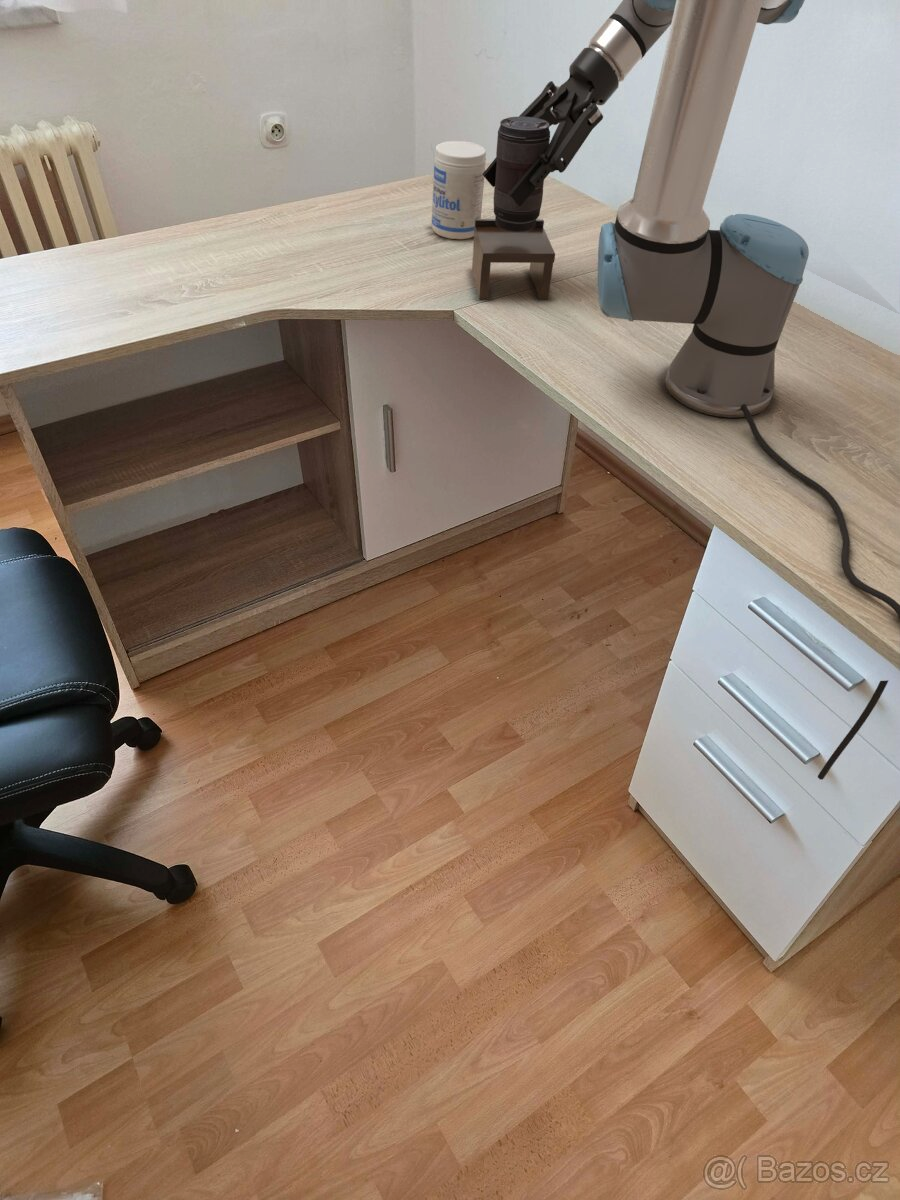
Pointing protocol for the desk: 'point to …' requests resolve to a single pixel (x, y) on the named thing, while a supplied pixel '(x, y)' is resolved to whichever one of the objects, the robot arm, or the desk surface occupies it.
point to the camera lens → (518, 170)
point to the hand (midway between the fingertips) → (500, 190)
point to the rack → (511, 254)
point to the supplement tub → (457, 188)
